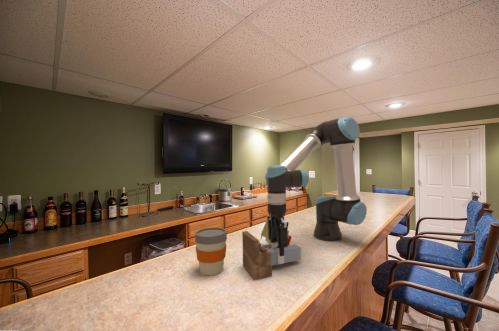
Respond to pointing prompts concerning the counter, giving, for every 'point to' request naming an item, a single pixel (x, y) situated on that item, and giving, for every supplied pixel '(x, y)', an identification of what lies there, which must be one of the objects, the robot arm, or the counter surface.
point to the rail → (287, 254)
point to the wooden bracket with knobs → (256, 257)
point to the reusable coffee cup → (211, 250)
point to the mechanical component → (265, 234)
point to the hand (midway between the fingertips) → (277, 260)
